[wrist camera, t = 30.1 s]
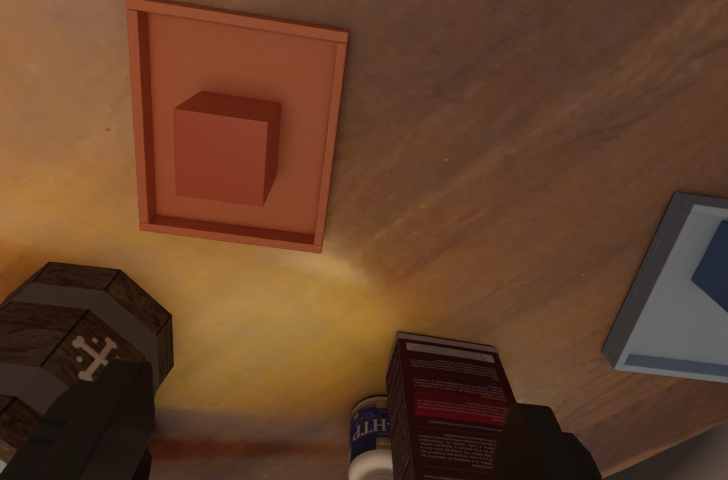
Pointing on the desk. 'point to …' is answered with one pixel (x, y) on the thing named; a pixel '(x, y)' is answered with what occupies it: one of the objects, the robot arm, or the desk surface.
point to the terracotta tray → (244, 79)
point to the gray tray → (674, 301)
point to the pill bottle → (370, 441)
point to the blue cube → (715, 268)
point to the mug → (73, 342)
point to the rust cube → (226, 148)
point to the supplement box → (445, 408)
